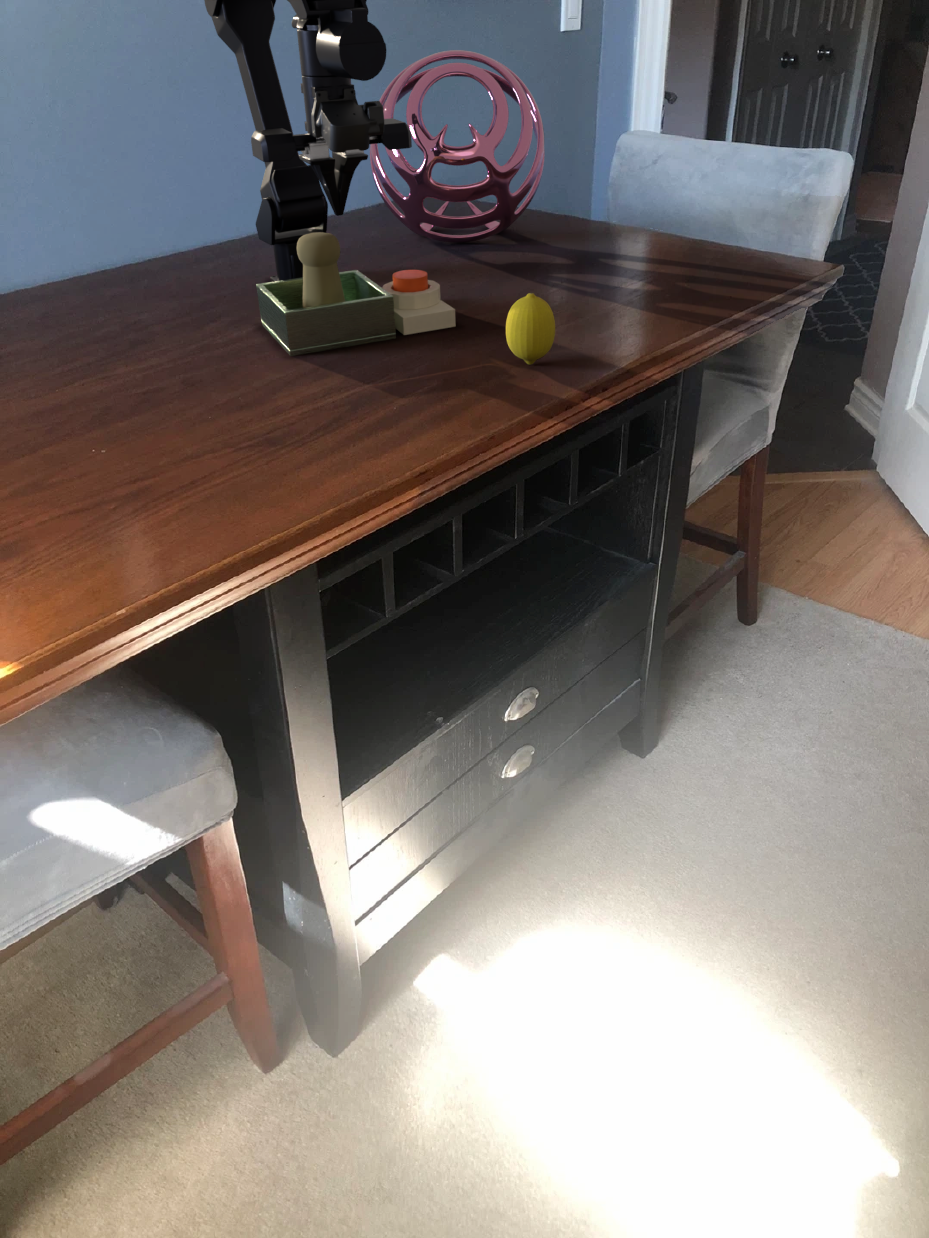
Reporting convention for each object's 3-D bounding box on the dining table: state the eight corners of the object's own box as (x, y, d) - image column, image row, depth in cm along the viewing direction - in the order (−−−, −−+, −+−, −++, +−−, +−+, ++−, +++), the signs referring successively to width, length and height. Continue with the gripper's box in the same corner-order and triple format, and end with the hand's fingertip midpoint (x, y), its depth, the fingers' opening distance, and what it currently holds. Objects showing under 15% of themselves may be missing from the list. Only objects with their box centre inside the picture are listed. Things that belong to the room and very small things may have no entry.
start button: (388, 288, 127) (387, 272, 126) (420, 283, 128) (419, 268, 127) (401, 296, 123) (400, 281, 122) (433, 291, 125) (432, 276, 124)
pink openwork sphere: (399, 88, 171) (388, -11, 144) (555, 130, 171) (574, 39, 144) (358, 245, 171) (340, 175, 144) (514, 287, 171) (526, 225, 144)
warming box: (261, 325, 127) (255, 284, 124) (360, 309, 131) (356, 269, 129) (290, 356, 117) (284, 312, 114) (396, 338, 121) (393, 296, 118)
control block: (370, 310, 131) (367, 279, 129) (421, 302, 134) (419, 271, 131) (402, 335, 122) (400, 303, 120) (456, 326, 125) (455, 294, 122)
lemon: (521, 376, 109) (521, 303, 105) (497, 361, 114) (496, 291, 109) (563, 367, 112) (565, 295, 107) (538, 353, 116) (539, 283, 111)
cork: (293, 324, 125) (282, 233, 118) (335, 315, 127) (326, 225, 121) (316, 336, 120) (306, 243, 114) (359, 326, 123) (351, 234, 117)
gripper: (265, 86, 107) (284, 237, 115) (425, 74, 113) (431, 219, 122) (241, 78, 115) (260, 219, 124) (391, 67, 121) (399, 202, 130)
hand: (338, 215), depth 125 cm, fingers closed
